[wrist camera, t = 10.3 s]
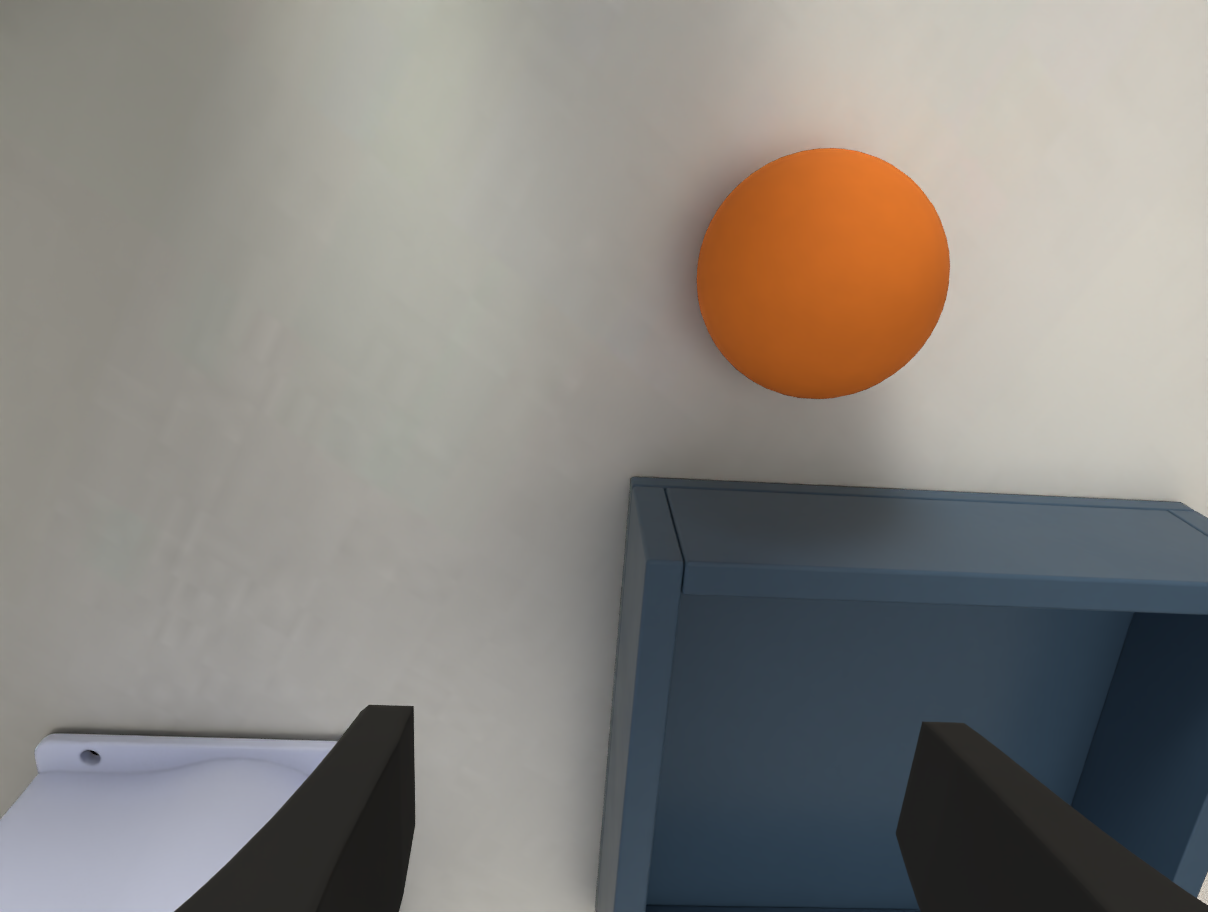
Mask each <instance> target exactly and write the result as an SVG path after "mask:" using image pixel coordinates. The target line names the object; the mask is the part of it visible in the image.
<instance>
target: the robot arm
mask: <svg viewBox="0 0 1208 912" xmlns="http://www.w3.org/2000/svg"><path fill="white" fill-rule="evenodd" d="M89 750H92V751H95V752H96V753H98V754H99V756H98V755H94V754H93V753H91V752H90V751H89ZM35 760H36V765H37V769H38V774H37V776H36V777H35V778H34V779H33V780H32V782H31V783H30V784H29V785H28V786H27V788H26V789H25V790H24V791H23V793H22V794H21V795H20V796H19V797H18V799H17V800H16V801H15V802H14V803H13V805H12V806H11V807H10V808H9V809H8V811H7V812H6V813H5V814H4V816H3V817H2V818H1V819H0V912H399V908H400V905H401V901H402V897H403V893H404V887H405V881H406V875H407V870H408V864H409V858H410V852H411V846H412V840H413V834H414V828H415V772H414V706H389V705H368V706H367V707H366V708H365V709H363V710H362V711H361V712H360V713H359V715H358V716H357V717H356V719H355V720H354V721H353V723H352V724H351V725H350V727H349V728H348V729H347V730H346V732H345V733H344V734H343V736H342V737H341V738H340V739H339V741H318V740H282V739H245V738H209V737H172V736H136V735H99V734H63V733H56V734H49V735H48V736H46V737H44V738H43V739H42V741H41V742H40V743H39V744H38V745H37V747H36V748H35ZM896 837H897V840H898V843H899V847H900V850H901V854H902V857H903V860H904V864H905V867H906V870H907V873H908V876H909V879H910V882H911V885H912V888H913V891H914V894H915V897H916V900H917V903H918V906H919V908H920V911H921V912H1208V905H1206V904H1205V903H1203V902H1202V901H1200V900H1199V899H1197V898H1196V897H1194V896H1193V895H1191V894H1190V893H1188V892H1187V891H1185V890H1184V889H1182V888H1181V887H1180V886H1178V885H1177V884H1175V883H1174V882H1172V881H1171V880H1170V879H1168V878H1167V877H1165V876H1164V875H1163V874H1161V873H1160V872H1158V871H1157V870H1156V869H1154V868H1153V867H1151V866H1150V865H1149V864H1147V863H1146V862H1144V861H1143V860H1142V859H1140V858H1139V857H1137V856H1136V855H1135V854H1133V853H1132V852H1130V851H1129V850H1128V849H1126V848H1125V847H1124V846H1122V845H1121V844H1120V843H1118V842H1117V841H1116V840H1114V839H1113V838H1112V837H1110V836H1109V835H1108V834H1106V833H1105V832H1104V831H1102V830H1101V829H1100V828H1099V827H1097V826H1096V825H1095V824H1093V823H1092V822H1091V821H1089V820H1088V819H1087V818H1085V817H1084V816H1083V815H1082V814H1080V813H1079V812H1078V811H1077V810H1075V809H1074V808H1073V807H1071V806H1070V805H1069V804H1068V803H1066V802H1065V801H1064V800H1062V799H1061V798H1060V797H1059V796H1057V795H1056V794H1055V793H1054V792H1052V791H1051V790H1050V789H1049V788H1047V787H1046V786H1045V785H1044V784H1042V783H1041V782H1040V781H1039V780H1037V779H1036V778H1035V777H1034V776H1032V775H1031V774H1030V773H1029V772H1027V771H1026V770H1025V769H1024V768H1022V767H1021V766H1020V765H1019V764H1017V763H1016V762H1015V761H1014V760H1012V759H1011V758H1010V757H1009V756H1007V755H1006V754H1005V753H1003V752H1002V751H1001V750H1000V749H998V748H997V747H996V746H995V745H993V744H992V743H991V742H989V741H988V740H987V739H986V738H984V737H983V736H982V735H980V734H979V733H978V732H976V731H975V730H973V729H972V728H971V727H969V726H968V725H966V724H965V723H956V722H923V721H922V725H921V729H920V733H919V737H918V741H917V746H916V750H915V754H914V758H913V762H912V767H911V771H910V775H909V779H908V783H907V787H906V792H905V796H904V800H903V804H902V808H901V813H900V817H899V821H898V825H897V829H896Z"/></svg>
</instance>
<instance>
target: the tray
mask: <svg viewBox="0 0 1208 912" xmlns="http://www.w3.org/2000/svg"><path fill="white" fill-rule="evenodd" d="M922 721H923V722H956V723H965V724H966V725H968V726H969V727H971V728H972V729H973V730H975V731H976V732H978V733H979V734H980V735H982V736H983V737H984V738H986V739H987V740H988V741H989V742H991V743H992V744H993V745H995V746H996V747H997V748H998V749H1000V750H1001V751H1002V752H1003V753H1005V754H1006V755H1007V756H1009V757H1010V758H1011V759H1012V760H1014V761H1015V762H1016V763H1017V764H1019V765H1020V766H1021V767H1022V768H1024V769H1025V770H1026V771H1027V772H1029V773H1030V774H1031V775H1032V776H1034V777H1035V778H1036V779H1037V780H1039V781H1040V782H1041V783H1042V784H1044V785H1045V786H1046V787H1047V788H1049V789H1050V790H1051V791H1052V792H1054V793H1055V794H1056V795H1057V796H1059V797H1060V798H1061V799H1062V800H1064V801H1065V802H1066V803H1068V804H1069V805H1070V806H1071V807H1073V808H1074V809H1075V810H1077V811H1078V812H1079V813H1080V814H1082V815H1083V816H1084V817H1085V818H1087V819H1088V820H1089V821H1091V822H1092V823H1093V824H1095V825H1096V826H1097V827H1099V828H1100V829H1101V830H1102V831H1104V832H1105V833H1106V834H1108V835H1109V836H1110V837H1112V838H1113V839H1114V840H1116V841H1117V842H1118V843H1120V844H1121V845H1122V846H1124V847H1125V848H1126V849H1128V850H1129V851H1130V852H1132V853H1133V854H1135V855H1136V856H1137V857H1139V858H1140V859H1142V860H1143V861H1144V862H1146V863H1147V864H1149V865H1150V866H1151V867H1153V868H1154V869H1156V870H1157V871H1158V872H1160V873H1161V874H1163V875H1164V876H1165V877H1167V878H1168V879H1170V880H1171V881H1172V882H1174V883H1175V884H1177V885H1178V886H1180V887H1181V888H1182V889H1184V890H1185V891H1187V892H1188V893H1190V894H1191V895H1193V896H1194V897H1196V898H1197V896H1198V894H1199V891H1200V889H1201V887H1202V884H1203V882H1204V879H1205V877H1206V875H1207V872H1208V518H1207V517H1205V516H1203V515H1202V514H1200V513H1198V512H1196V511H1194V510H1193V509H1191V508H1189V507H1188V506H1186V505H1184V504H1183V503H1181V502H1163V501H1141V500H1120V499H1098V498H1077V497H1055V496H1034V495H1012V494H991V493H970V492H948V491H927V490H905V489H884V488H862V487H841V486H819V485H798V484H776V483H755V482H734V481H712V480H691V479H669V478H648V477H632V478H631V482H630V494H629V506H628V518H627V530H626V542H625V554H624V566H623V578H622V590H621V602H620V614H619V626H618V638H617V650H616V662H615V674H614V686H613V698H612V710H611V722H610V734H609V746H608V758H607V770H606V782H605V794H604V806H603V818H602V830H601V842H600V854H599V866H598V878H597V890H596V902H595V912H921V911H920V908H919V906H918V903H917V900H916V897H915V894H914V891H913V888H912V885H911V882H910V879H909V876H908V873H907V870H906V867H905V864H904V860H903V857H902V854H901V850H900V847H899V843H898V840H897V837H896V829H897V825H898V821H899V817H900V813H901V808H902V804H903V800H904V796H905V792H906V787H907V783H908V779H909V775H910V771H911V767H912V762H913V758H914V754H915V750H916V746H917V741H918V737H919V733H920V729H921V725H922Z"/></svg>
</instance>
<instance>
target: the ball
mask: <svg viewBox="0 0 1208 912" xmlns="http://www.w3.org/2000/svg"><path fill="white" fill-rule="evenodd" d="M949 272H950V261H949V249H948V244H947V238H946V235H945V232H944V229H943V226H942V224H941V221H940V218H939V216H938V214H937V212H936V210H935V208H934V206H933V205H932V203H931V202H930V201H929V199H928V198H927V196H926V195H925V194H924V192H923V191H922V190H921V189H920V187H919V186H918V185H917V184H916V183H915V182H914V181H913V180H912V179H911V178H909V177H908V176H907V175H905V174H904V173H903V172H901V171H900V170H898V169H897V168H896V167H894V166H893V165H891V164H889V163H887V162H885V161H883V160H881V159H879V158H877V157H874V156H871V155H868V154H865V153H862V152H858V151H853V150H846V149H836V148H823V149H813V150H806V151H801V152H797V153H794V154H791V155H787V156H784V157H781V158H779V159H777V160H775V161H773V162H770V163H768V164H767V165H765V166H763V167H762V168H760V169H759V170H757V171H755V172H754V173H753V174H751V175H750V176H749V177H747V178H746V179H745V180H744V181H743V182H741V183H740V184H739V185H738V186H737V187H736V188H735V189H734V190H733V191H732V192H731V193H730V194H729V195H728V196H727V198H726V199H725V200H724V202H723V203H722V204H721V206H720V207H719V208H718V210H717V212H716V214H715V215H714V217H713V219H712V220H711V222H710V225H709V227H708V229H707V231H706V234H705V236H704V239H703V243H702V246H701V249H700V254H699V260H698V267H697V292H698V301H699V305H700V310H701V314H702V317H703V320H704V322H705V325H706V327H707V330H708V332H709V334H710V336H711V338H712V340H713V341H714V343H715V345H716V346H717V347H718V349H719V350H720V352H721V353H722V354H723V356H724V357H725V358H726V359H727V360H728V361H729V362H730V363H731V364H732V365H733V366H734V367H735V368H736V369H737V370H738V371H739V372H741V373H742V374H743V375H745V376H746V377H747V378H749V379H750V380H752V381H753V382H755V383H757V384H759V385H761V386H763V387H765V388H767V389H770V390H772V391H775V392H778V393H781V394H784V395H788V396H793V397H798V398H811V399H827V398H836V397H840V396H845V395H850V394H854V393H857V392H860V391H863V390H866V389H868V388H870V387H872V386H874V385H876V384H878V383H880V382H882V381H883V380H885V379H887V378H888V377H890V376H891V375H893V374H894V373H896V372H897V371H898V370H900V369H901V368H902V367H903V366H905V365H906V364H907V363H908V362H909V361H910V360H911V359H912V358H913V357H914V356H915V355H916V354H917V352H918V351H919V350H920V349H921V348H922V346H923V345H924V344H925V342H926V341H927V339H928V338H929V336H930V335H931V333H932V331H933V329H934V328H935V326H936V324H937V322H938V320H939V317H940V315H941V312H942V310H943V307H944V303H945V300H946V296H947V291H948V285H949Z"/></svg>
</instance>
